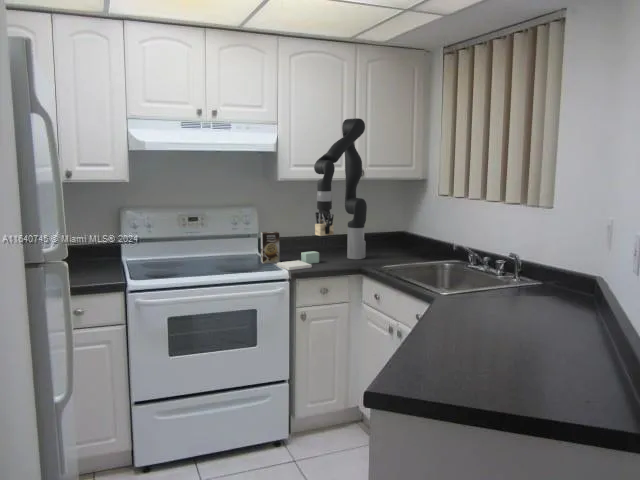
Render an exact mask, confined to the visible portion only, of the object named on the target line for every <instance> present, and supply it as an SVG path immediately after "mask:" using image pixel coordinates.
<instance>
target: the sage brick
mask: <svg viewBox="0 0 640 480" xmlns="http://www.w3.org/2000/svg"><path fill="white" fill-rule="evenodd" d="M300 253H301V254H300V258H301V259H300V261H302V262H305V263H308V264H311V265H313V264H319V263H320V252H318V251H315V250H314V251H311V250H310V251H304V252H300Z"/></svg>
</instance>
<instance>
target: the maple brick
mask: <svg viewBox="0 0 640 480" xmlns="http://www.w3.org/2000/svg"><path fill="white" fill-rule="evenodd" d="M334 229H335V227H334V223H333V224H332V226H330V233H329V234H325V223H322V224H317V223H314V230H315V231H314V235H316V236H319V237H322V236H323V237H324V236H333V235H334V233H335V232H334V231H335V230H334Z"/></svg>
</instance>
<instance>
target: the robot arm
mask: <svg viewBox="0 0 640 480" xmlns="http://www.w3.org/2000/svg"><path fill="white" fill-rule="evenodd" d="M341 129H342V137H341V138H340V139H338V140H337V141H335V142H334V143H333V144H332V145H331V146H330V148H328V150H327V151H326V153H324V154H323V155H322V156H321V157H319V158H318V159H317V160H316V161H315V163H314V166H313V170H314V173H316V174H318V175H323V176H322V178H321V179H318V180H317V184H316V185H317V187H316V188H317V192H316V193H317V194H316V208H317V211H316V212H315V214H314V215H315V220H316V224H322V223H325V234H329V233H330V226H332V224H334V223H333V222H334V217H335V216H334V214H333V213H332V214H331V210H332V209H333V207H332V205H333V196H332V182H333V178H334V173H335V170H336V169H335V164H336V163H338V161H340V159H341V157H342V156H343V154H344V172H345V173H344V174H345V175H344V176H345V192H344V193H345V194H344V195H345V197H344V209H345V212H346V213H347V214H348V215H353V218H352V220H350V221H348V222H347V240H346V241H347V244H346V245H347V246H346V247H347V249H346V250H347V251H346V252H347V253H346V255H347V256H346V258H347V259H348V260H349V259H350V260H363V259H365V258H366V246H367V244H366V240H365V226H366V225H365V224H366V221H367V210H368V205H367V201H366V200H365V199H364V198H361V197H360V198H359V197H357V187H358V185H359V183H360V180H361V178H362V175H363V160H362V157H361V155H360V154H359V151H357V148H356V146H355V142H356V141H357V140H358V139H359V138H360V137H361V136H362V135H363V134H364V133H365V130H366V123H365V121H364V120H363V119H362V118H358V117H357V118H346V119H345V120H344V121H343V122H342V125H341Z"/></svg>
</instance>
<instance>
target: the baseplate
mask: <svg viewBox="0 0 640 480" xmlns="http://www.w3.org/2000/svg"><path fill="white" fill-rule="evenodd" d="M312 265H313V264H308V263H305V262H302V261H301V260H300V259H297V260H291V261H282V262H281V261H279V263H276V266H277V267H279V268H282V269H284V270H287V271H294V270H301V269H302V270H303V269H311V268H312Z"/></svg>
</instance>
